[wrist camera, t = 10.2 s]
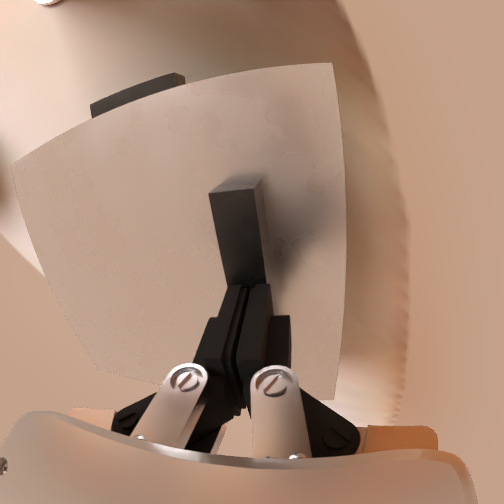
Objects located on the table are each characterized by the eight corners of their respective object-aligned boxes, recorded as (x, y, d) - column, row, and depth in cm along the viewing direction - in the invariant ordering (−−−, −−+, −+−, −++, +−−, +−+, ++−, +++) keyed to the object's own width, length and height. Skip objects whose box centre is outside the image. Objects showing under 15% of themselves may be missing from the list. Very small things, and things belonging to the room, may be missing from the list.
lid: (22, 161, 13) (-6, 172, 11) (329, 68, 9) (336, 52, 6) (104, 360, 21) (89, 381, 19) (333, 386, 17) (333, 419, 14)
